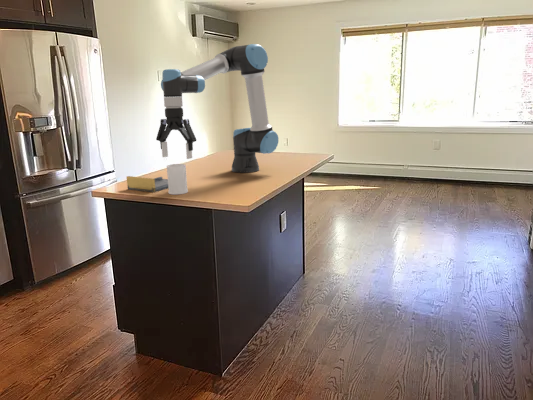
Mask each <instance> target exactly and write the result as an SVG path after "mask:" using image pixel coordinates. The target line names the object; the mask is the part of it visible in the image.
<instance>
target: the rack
mask: <svg viewBox="0 0 533 400" xmlns="http://www.w3.org/2000/svg"><path fill="white" fill-rule="evenodd" d="M126 186H127V190H129V191H130V190H131V191H137V192H149V193H157V192H160V191H163V190H167V189H168V178H163V176H158V177H154V178H153V177H142V176H133V175H132V176H131V175H128V176H126Z"/></svg>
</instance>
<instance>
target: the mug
mask: <svg viewBox="0 0 533 400" xmlns="http://www.w3.org/2000/svg"><path fill="white" fill-rule="evenodd" d="M166 174H167V179H168V188H167V189H168V194H169V195H175V196H176V195H185V194H187V193H189V189H188V180H187V167H186V164H184V163H173V164H167V165H166Z"/></svg>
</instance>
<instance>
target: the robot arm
mask: <svg viewBox="0 0 533 400" xmlns="http://www.w3.org/2000/svg"><path fill="white" fill-rule="evenodd" d="M268 57H269V56H268V53H267V51H266V49H265V48H264V47H263V46H262V45H260V44H257V43H252V44H251V43H250V44H245V45H236V46H233V47H230V48H228V49H226V50H224V51H221V52H220V53H217V54H216V55H214V57H213V58H211V59H208V60H207V61H204V62H201V63H200V64H197V65H195V66H193V67H190V68H187V69H185V70H183V71H181V70H180V69H176V68H173V69H172V68H171V69H170V68H169V69H163V70H162V75H161V76H162V79H161V81H160V88H161V90H162V91H163V102H164V103H163V105H164V116H165V118H161V119H160V125H159V129H158V131H157V135H156V141H159V143H160V149H161V157H162V158H166V157H169V154H168V153H169V151H168V142H167V139H168V137H169V135H170V134H171V131H178V132H179V134H181V135H182V137H183V138H184V140H185V141H186V143H185V153H186V159H187V160H189V159H193V150H194V148H193V147H194V145H193V143H194V142H197V138H196V135H195V133H194V130H193V128H192V126H191V123H190V119H189V118H186V119H183V117H184V108H183V94H200V93H202V92H203V91H204V90H205V89H206V80H208V79H210V78H212V77H214V76H216V75H219V74H227V73H229V72H234V71H235V72H238V71H240V75H241V76H242V77H243V78H244V81H245V87H246V94H247V100H248V106H249V111H250V112H249V113H250V119H251V127H244V128H238V129H237V128H236V129H234V130H233V131H232V133H233V134H232V135H233V137H232V139H233V155H234V157H233V161H232V165H231V172H233V173H242V174H243V173H254V172H258V171H260V165H259V162H258V160H257V159H258V158H257V157H256V153H259V154H263V155H264V154H272V153H273V152H275V150H276V149H277V147H278V144H279V135H278V133H277V132H276V131H274V130H273V125H272V124H270V122H269V115H268V108H267V101H266V96H265V88H264V80H263V79H264V78H263V75H264V73H265V68H266V67H267V65H268V61H269V60H268V59H269V58H268Z"/></svg>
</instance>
